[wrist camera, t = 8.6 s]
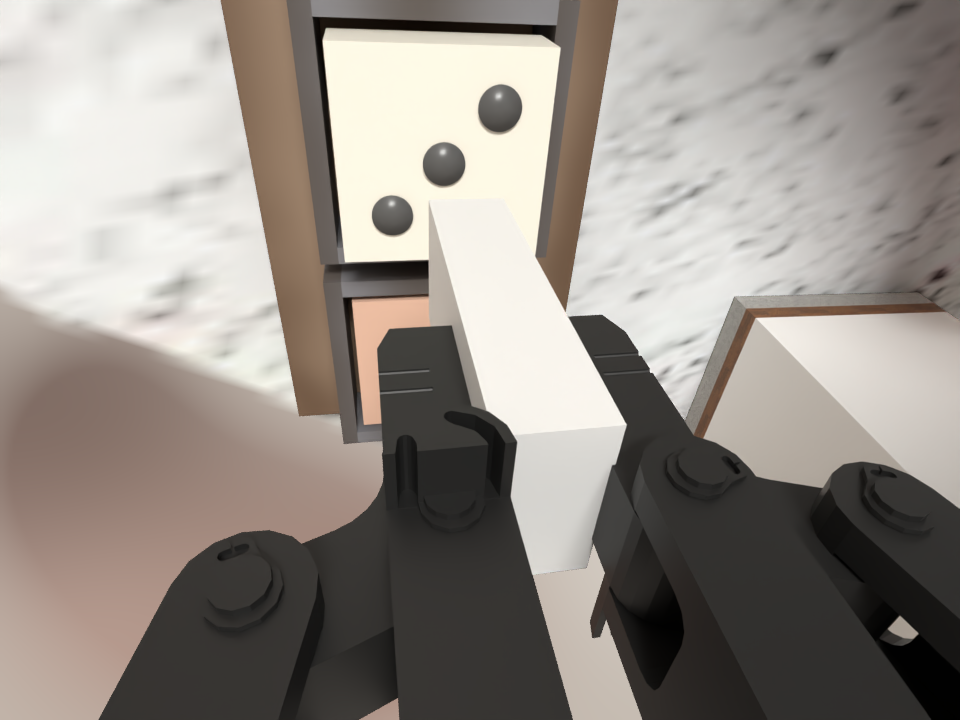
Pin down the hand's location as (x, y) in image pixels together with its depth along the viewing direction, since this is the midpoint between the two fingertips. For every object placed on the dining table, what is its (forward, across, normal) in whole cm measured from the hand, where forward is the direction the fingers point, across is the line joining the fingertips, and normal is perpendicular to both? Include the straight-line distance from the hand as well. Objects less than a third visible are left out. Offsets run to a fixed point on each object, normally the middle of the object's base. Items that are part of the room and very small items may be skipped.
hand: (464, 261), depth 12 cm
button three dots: (+8, 0, 0) cm, 8 cm away
